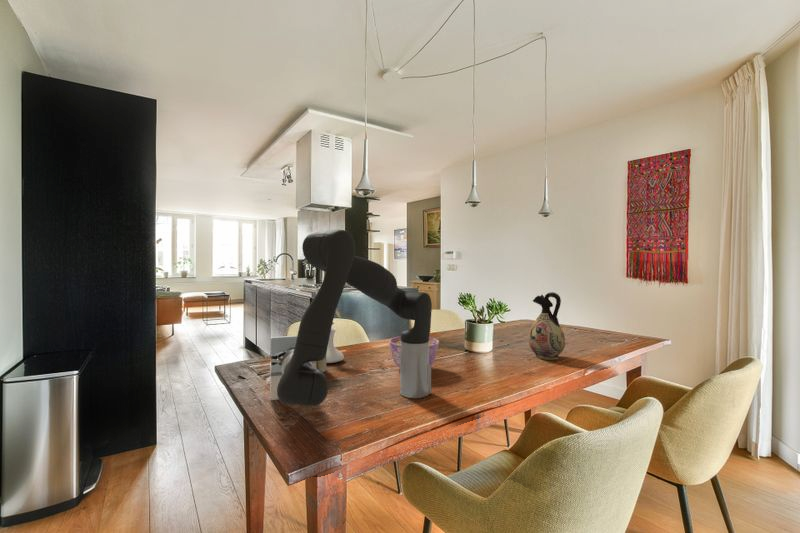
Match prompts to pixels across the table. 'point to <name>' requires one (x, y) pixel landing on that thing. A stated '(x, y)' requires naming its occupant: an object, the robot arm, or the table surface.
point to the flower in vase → (332, 352)
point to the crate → (274, 383)
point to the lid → (281, 347)
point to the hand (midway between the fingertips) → (291, 350)
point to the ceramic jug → (547, 330)
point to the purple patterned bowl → (396, 349)
